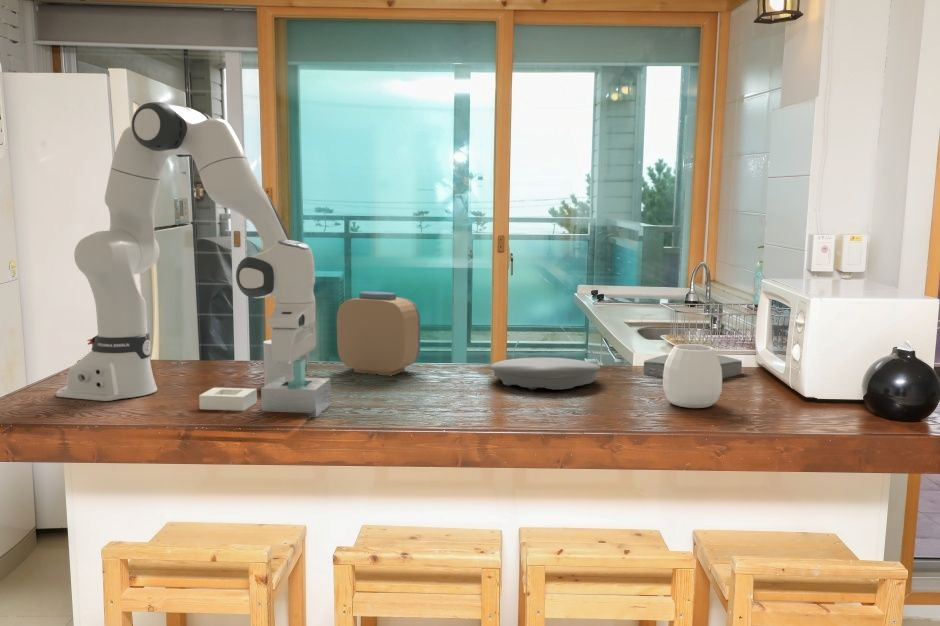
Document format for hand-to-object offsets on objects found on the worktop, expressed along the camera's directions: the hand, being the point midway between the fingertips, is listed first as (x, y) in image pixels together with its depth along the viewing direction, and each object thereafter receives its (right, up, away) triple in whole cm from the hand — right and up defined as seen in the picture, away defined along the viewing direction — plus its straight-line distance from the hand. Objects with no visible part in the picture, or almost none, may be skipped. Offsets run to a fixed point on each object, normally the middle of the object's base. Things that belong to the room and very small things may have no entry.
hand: (296, 376), depth 191 cm
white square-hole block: (-15, -7, +1) cm, 17 cm away
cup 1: (-8, -5, +21) cm, 23 cm away
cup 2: (+89, -7, +7) cm, 90 cm away
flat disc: (+58, -4, +31) cm, 65 cm away
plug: (0, -6, +1) cm, 6 cm away
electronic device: (+98, -3, +43) cm, 107 cm away
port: (0, -7, +1) cm, 8 cm away
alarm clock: (+14, -2, +43) cm, 46 cm away
